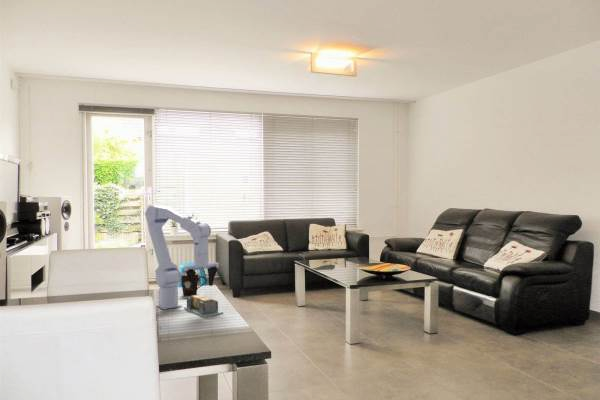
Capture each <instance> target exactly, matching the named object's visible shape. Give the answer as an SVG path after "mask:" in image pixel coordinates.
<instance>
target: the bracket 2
mask: <svg viewBox="0 0 600 400" xmlns="http://www.w3.org/2000/svg"><path fill="white" fill-rule="evenodd" d="M213 300H214V302H207V303H203V302H199V313H201V314H203V315H205V314H211V313H217V312H218V310H219V301H218V300H216V299H213Z"/></svg>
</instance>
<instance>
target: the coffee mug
mask: <svg viewBox="0 0 600 400" xmlns="http://www.w3.org/2000/svg"><path fill="white" fill-rule="evenodd" d="M200 278H203V279H204V282H203V283H202V284H201V285H200V286H198V285H199V284H198V283H199V280H200ZM206 282H207V278H206V277H205V276H203V275H202V276H199V273H198V272H196V274H195V288H191V283H190V280H189V278H188V276H187V274H186V272H183V273H181V281H180V283H181V288H182V289H181V290H182V295H184V296H183V297H191V296H193V295H198V290H199V288H201V287H202V286H204V285H205V284H206Z"/></svg>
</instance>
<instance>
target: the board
mask: <svg viewBox="0 0 600 400" xmlns="http://www.w3.org/2000/svg"><path fill="white" fill-rule="evenodd" d="M183 310H186V311H189V312H191V313H193V314H195V315H197V316H200V317H202V318H207V317H213V316H218V315H223V314H224V312H223V311H221V310H219V309H218V312H217V313H211V314H205V315H203V314H201V313H199V308H196V309H189V308H187V306H185V307H184V309H183Z"/></svg>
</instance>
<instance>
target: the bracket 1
mask: <svg viewBox="0 0 600 400" xmlns="http://www.w3.org/2000/svg"><path fill="white" fill-rule="evenodd" d="M186 307H187V308H189V309H196V308H197V307H194V306H192V298H191V296H186Z"/></svg>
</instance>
